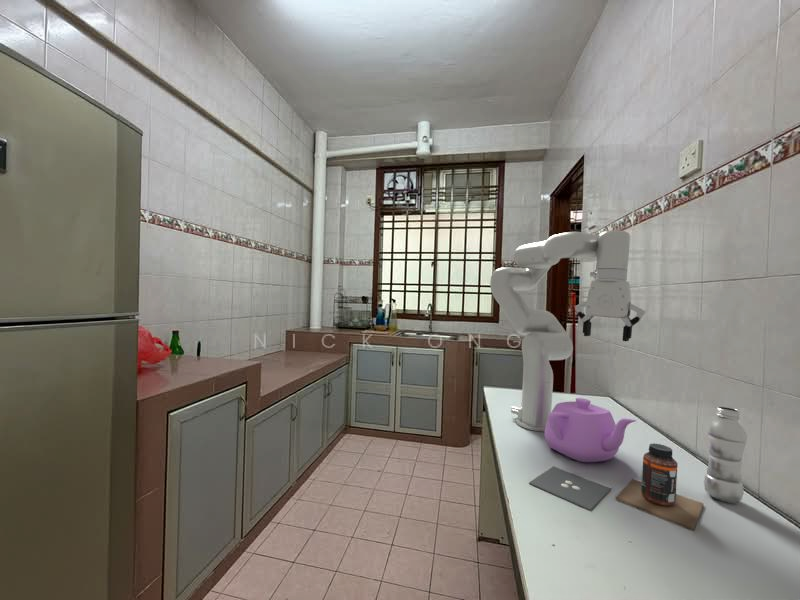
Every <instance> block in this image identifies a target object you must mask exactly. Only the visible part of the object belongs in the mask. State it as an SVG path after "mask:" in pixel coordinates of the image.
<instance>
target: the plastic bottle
mask: <svg viewBox="0 0 800 600" xmlns="http://www.w3.org/2000/svg"><path fill="white" fill-rule="evenodd" d="M715 415H716V416H717V418H716V419H714V420H713V421H712V422H710V424H709V426H708V428H707V436H708V445H709V446H708V448H709V449H708V450H709V451H708V452H709V455H708V456H709V457H708V464H707V468H706V469H707V470H706V473H705V475H704V478H703V487H704V490H705V491H706V493H707V494H708V495H709V496H710V497H712V498H714V499H716V500H718V501H722V502H725V503H732V504H737V503H739V502H741V501H742V500H743V497H744V493H745V492H744V483H743V481H742V480H743V475H742V474H743V473H742V464H743V462H742V461H743V458H744V452H745V449H746V444H747V441H748V435H747V432H746V430H745V429H744V427H742V425H741V423H740V422H739V421H740V420H741V418H740V410H738V409H736V408H732V407H729V406H728V407H726V406H717V407H716V413H715Z"/></svg>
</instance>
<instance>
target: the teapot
mask: <svg viewBox="0 0 800 600" xmlns="http://www.w3.org/2000/svg"><path fill="white" fill-rule="evenodd" d="M635 422H637V420H636V419H632V418H626V417H625V418H621V419H619V420H618V421H617V423H616V422H615V419H614V417H613V414H612V412H611V411H610V410H609V409H607V408H604V407H601V406H598V405H595V404H593V403H592V402H591V400H589V399H588V398H587V399H586V398H582V397H581V398H580V397H578V398H575V401H562V402H558V403H556V404H555V405H554V407H553V408H552V409H551V413H550V414H549V416H548V421H547V424H546V428H545V432H544V438H545V441H546V443H547V444H548V447H550V448H551V449H553V450H554V451H556V452H558V453H560V454H562V455H565V457H568V458H571V459H574V460H576V461H578V462H581V461H582V462H581V463H596V462H598V463H600V462H603V461H609V460H610V459H612V458H613V457H614V456H615V455H616V454H617V453H618V452H619V449H620V447H621V445H622V444H623V442H624V438H625V432H626V428H627V427H628V426H629V424H631V423H635Z"/></svg>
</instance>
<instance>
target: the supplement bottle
mask: <svg viewBox="0 0 800 600" xmlns="http://www.w3.org/2000/svg"><path fill="white" fill-rule="evenodd" d="M673 454H674V453H673V449H672V447H669V446H667V445H664V444H660V443H649V446H648V452H645V453H644V454H643V458H642V473H641V482H642V488H641V490H642V491H641V493H642V495H643V496H644V497H645V498H646V499H647V500H649V501H651V502H653V503H656V504H659V505H663V506H672V505H674V504H675V500H676V494H677V481H678V479H677V478H678V462H677V460H675V459H674V457H673V456H674V455H673Z"/></svg>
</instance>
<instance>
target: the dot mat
mask: <svg viewBox="0 0 800 600" xmlns="http://www.w3.org/2000/svg"><path fill="white" fill-rule="evenodd" d="M528 484H529V485H531V486H533V487H536V488H538V489H540V490H542V491H544V492H547V493H549V494H551V495H554V496H556V497H558V498H560V499H562V500H565V501H567V502H569V503H572V504H574V505H577V506H578V507H581V508H584V509H586V510H588V511H592V510H593V509H594V508H595V507H596V506H597V505H598V503H600V501H602V499H603V498H604V497H606V495H608V493H610V492H611V490H612V488H611V487H609V486H606V485H603V484H601V483H598V482H595V481H593V480H591V479H588V478H586V477H582V476H580V475H577V474H575V473H572V472H570V471H566V470H564V469H562V468H560V467H557V466H554V465H553V466H552V467H550V468H549V469H547V470H546V471H544V472H542V473H541V474H540V475H538V476H536V477H534V479H532V480H530V481H529V482H528Z"/></svg>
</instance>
